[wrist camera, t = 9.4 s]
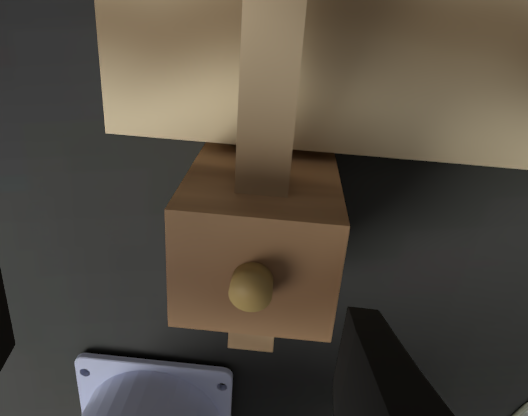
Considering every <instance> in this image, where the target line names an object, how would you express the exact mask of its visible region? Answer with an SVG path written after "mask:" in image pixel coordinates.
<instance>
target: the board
mask: <svg viewBox="0 0 528 416" xmlns="http://www.w3.org/2000/svg"><path fill="white" fill-rule="evenodd" d="M94 2H95V14H96V26H97V38H98V50H99V62H100V73H101V85H102V97H103V109H104V121H105V132H106V133H108V134H120V135H131V136H143V137H154V138H166V139H178V140H189V141H201V142H212V143H224V144H235V145H236V141H237V117H238V93H239V70H240V46H241V23H242V0H94ZM293 150H305V151H316V152H328V153H339V154H351V155H363V156H374V157H386V158H397V159H409V160H420V161H432V162H444V163H455V164H467V165H478V166H490V167H501V168H513V169H524V170H528V0H307V7H306V17H305V27H304V38H303V48H302V58H301V68H300V79H299V89H298V99H297V109H296V119H295V130H294V140H293Z"/></svg>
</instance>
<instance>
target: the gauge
mask: <svg viewBox="0 0 528 416" xmlns="http://www.w3.org/2000/svg"><path fill="white" fill-rule="evenodd" d="M306 7H307V0H242V23H241V46H240V70H239V93H238V117H237V141H236V145H235V144H224V143H212V142H206V143H205V144H204V146H203V148H202V149H201V151H200V153H199V154H198V156H197V157H196V159H195V161H194V162H193V164H192V166H191V167H190V169H189V171H188V172H187V174H186V175H185V177H184V179H183V180H182V182H181V184H180V185H179V187H178V188H177V190H176V192H175V193H174V195H173V197H172V198H171V200H170V201H169V203H168V205H167V206H166V208H165V241H166V275H167V309H168V326H169V327H179V328H189V329H199V330H209V331H219V332H228V348H234V349H244V350H254V351H264V352H273V344H274V337H279V338H289V339H299V340H309V341H319V342H329V343H331V339H332V333H333V327H334V321H335V315H336V309H337V303H338V297H339V291H340V285H341V279H342V273H343V267H344V261H345V255H346V249H347V243H348V237H349V231H350V223H349V218H348V213H347V209H346V204H345V200H344V195H343V190H342V186H341V181H340V176H339V172H338V167H337V162H336V158H335V153H328V152H316V151H305V150H293V140H294V130H295V119H296V109H297V99H298V89H299V79H300V68H301V58H302V48H303V38H304V27H305V17H306Z"/></svg>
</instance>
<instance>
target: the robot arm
mask: <svg viewBox="0 0 528 416" xmlns="http://www.w3.org/2000/svg"><path fill="white" fill-rule="evenodd" d="M14 346H15V339H14V334H13V329H12V324H11V319H10V314H9V309H8V304H7V299H6V294H5V289H4V284H3V279H2V274H1V269H0V371H1V369H2V368H3V366H4V364H5V362H6V360H7V358H8V357H9V355H10V353H11V351H12V349H13V348H14ZM85 369H87V370H85ZM75 370H76V377H77V383H78V390H79V397H80V404H81V411H82V415H81V416H231V406H232V386H233V373H232V371H231V370H230V369H228V368H225V367H218V366H209V365H199V364H190V363H180V362H170V361H161V360H151V359H141V358H132V357H122V356H113V355H103V354H93V353H81V354H79V355H78V356H77V358H76V360H75ZM220 383H223V384H225V385H222V384H220ZM333 414H334V416H455V415H454V414H453V413H452V412H451V410H450V409H449V408H448V407H447V405H446V404H445V403H444V402H443V400H442V399H441V398H440V396H439V395H438V394H437V392H436V391H435V390H434V388H433V387H432V386H431V384H430V383H429V382H428V380H427V379H426V378H425V376H424V375H423V374H422V372H421V371H420V370H419V368H418V367H417V365H416V364H415V363H414V361H413V360H412V358H411V357H410V356H409V354H408V353H407V351H406V350H405V348H404V347H403V345H402V344H401V343H400V341H399V340H398V338H397V337H396V335H395V334H394V332H393V331H392V329H391V328H390V326H389V325H388V323H387V322H386V320H385V319H384V317H383V316H382V314H381V313H380V312H379V311H378V310H374V309H365V308H356V307H348V308H347V313H346V318H345V323H344V328H343V333H342V338H341V343H340V348H339V353H338V358H337V363H336V368H335V373H334V378H333Z"/></svg>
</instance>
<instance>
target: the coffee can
mask: <svg viewBox="0 0 528 416" xmlns="http://www.w3.org/2000/svg"><path fill="white" fill-rule="evenodd" d="M512 416H528V402H526V403H525V404H524V405H522V406H521V407H520V408H519V409H518V410H517V411H516V412H515V413H514V414H513V415H512Z"/></svg>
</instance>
